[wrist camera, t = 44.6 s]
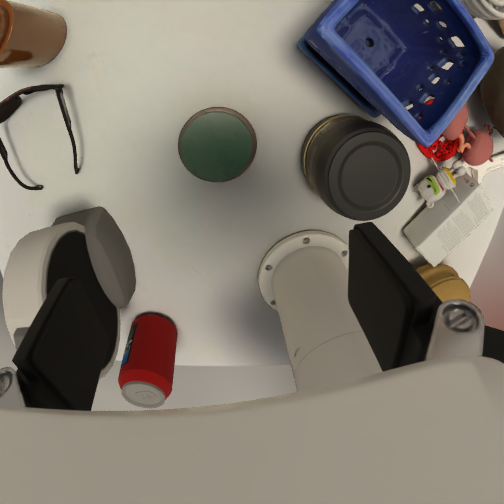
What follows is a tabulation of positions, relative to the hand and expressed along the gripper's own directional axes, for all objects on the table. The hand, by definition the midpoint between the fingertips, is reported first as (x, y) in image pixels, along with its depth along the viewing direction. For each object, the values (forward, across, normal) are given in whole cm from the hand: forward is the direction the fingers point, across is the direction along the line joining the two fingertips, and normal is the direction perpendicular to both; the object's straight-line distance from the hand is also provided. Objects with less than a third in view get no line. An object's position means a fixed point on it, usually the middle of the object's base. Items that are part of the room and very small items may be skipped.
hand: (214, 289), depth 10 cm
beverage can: (+24, +14, +23) cm, 36 cm away
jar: (+16, -13, +3) cm, 21 cm away
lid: (+22, 0, 0) cm, 22 cm away
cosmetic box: (+20, -32, +8) cm, 39 cm away
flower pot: (+24, -17, -9) cm, 31 cm away
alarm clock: (+24, +18, +10) cm, 32 cm away
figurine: (+23, -33, -2) cm, 40 cm away
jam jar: (+24, +17, -18) cm, 34 cm away
